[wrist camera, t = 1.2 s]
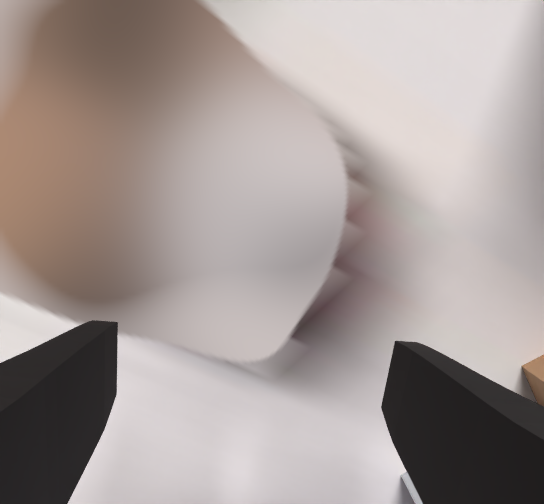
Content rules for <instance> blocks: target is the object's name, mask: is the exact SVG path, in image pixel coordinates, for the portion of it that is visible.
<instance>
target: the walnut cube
mask: <svg viewBox="0 0 544 504" xmlns="http://www.w3.org/2000/svg"><path fill="white" fill-rule="evenodd" d="M522 368H523V370H524V373H525V375H526V377H527V380H528V382H529V384H530V387H531V389H532V392H533V394H534V396H535V399H536V401H537V403H538V404H539V405H542V406H544V355H542V356H540V357H538V358H536V359H534V360H532V361H531V362H529V363H527V364H525V365H523V366H522Z"/></svg>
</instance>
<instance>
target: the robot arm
mask: <svg viewBox="0 0 544 504" xmlns="http://www.w3.org/2000/svg"><path fill="white" fill-rule="evenodd" d="M117 327H118V323H117V322H108V321H89V322H87V323H84V324H82V325H80V326H77V327H75V328H73V329H71V330H69V331H67V332H65V333H63V334H61V335H59V336H57V337H55V338H53V339H51V340H49V341H47V342H45V343H43V344H41V345H39V346H37V347H35V348H33V349H31V350H29V351H26V352H24V353H22V354H20V355H17V356H15V357H13V358H11V359H8V360H6V361H4V362H2V363H0V504H67V503H68V501H69V499H70V497H71V495H72V493H73V491H74V489H75V487H76V485H77V484H78V482H79V480H80V478H81V476H82V474H83V472H84V470H85V468H86V466H87V464H88V462H89V460H90V458H91V456H92V454H93V452H94V450H95V448H96V446H97V444H98V442H99V440H100V437H101V435H102V433H103V431H104V429H105V426H106V423H107V421H108V418H109V415H110V412H111V409H112V406H113V403H114V400H115V397H116V393H117V332H118V331H117V330H118V329H117ZM381 408H382V411H383V414H384V418H385V421H386V424H387V427H388V430H389V433H390V436H391V439H392V442H393V444H394V446H395V448H396V450H397V452H398V454H399V456H400V458H401V461H402V463H403V465H404V467H405V469H406V471H407V473H408V475H409V477H410V479H411V481H412V483H413V485H414V487H415V489H416V491H417V493H418V495H419V497H420V499H421V501H422V503H423V504H544V406H542V405H539V404H537V403H535V402H533V401H531V400H529V399H527V398H525V397H523V396H521V395H519V394H517V393H515V392H513V391H511V390H509V389H507V388H505V387H503V386H501V385H499V384H497V383H495V382H493V381H491V380H490V379H488V378H486V377H484V376H482V375H480V374H478V373H477V372H475V371H473V370H471V369H469V368H468V367H466V366H464V365H462V364H460V363H458V362H457V361H455V360H453V359H451V358H449V357H447V356H446V355H444V354H442V353H440V352H438V351H436V350H434V349H432V348H430V347H428V346H425V345H423V344H420V343H417V342H404V341H395V344H394V349H393V354H392V359H391V363H390V368H389V373H388V378H387V382H386V387H385V392H384V396H383V401H382V406H381Z"/></svg>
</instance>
